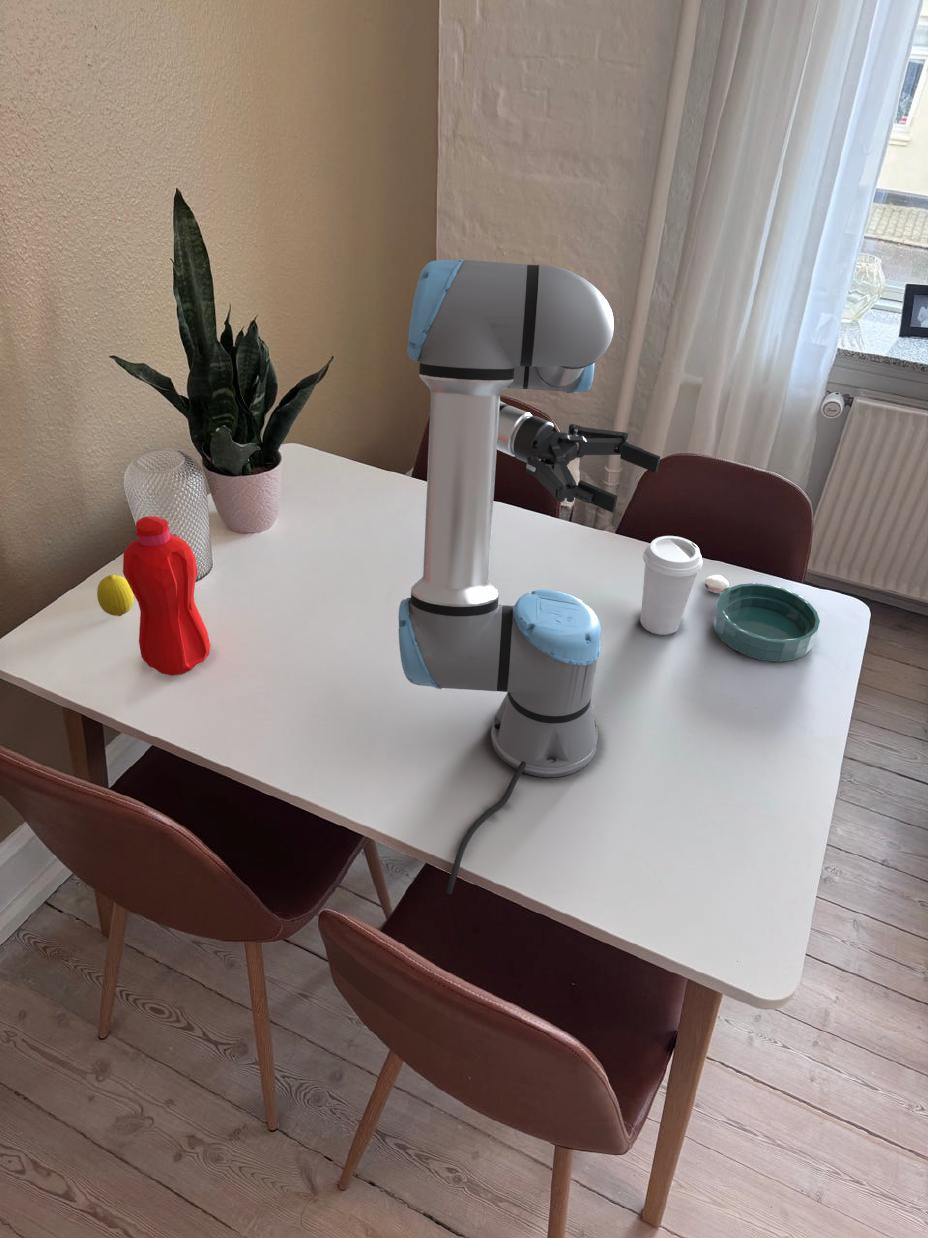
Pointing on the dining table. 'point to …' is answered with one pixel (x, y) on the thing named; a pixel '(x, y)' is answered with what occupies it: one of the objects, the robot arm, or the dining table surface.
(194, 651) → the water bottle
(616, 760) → the dining table surface
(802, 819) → the dining table surface
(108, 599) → the lemon
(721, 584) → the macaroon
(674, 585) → the coffee cup
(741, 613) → the bowl
